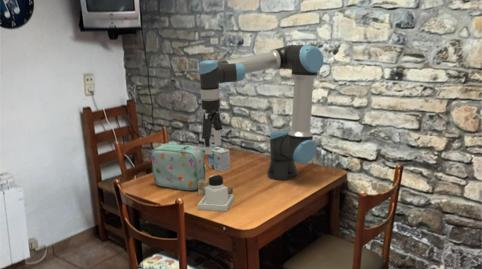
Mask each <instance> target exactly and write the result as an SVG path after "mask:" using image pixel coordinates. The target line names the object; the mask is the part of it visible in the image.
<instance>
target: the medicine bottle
mask: <svg viewBox="0 0 482 269" xmlns="http://www.w3.org/2000/svg"><path fill="white" fill-rule="evenodd" d="M208 180H209V186H207V187H205V195H206V203H208V204H214V205H223V204H226V203H227V202H228V187H227V186H225V185H224V177H223V176H222V175H221V174H213V175H210V176H209V177H208ZM205 195H204V196H205Z"/></svg>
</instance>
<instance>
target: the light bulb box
mask: <svg viewBox="0 0 482 269" xmlns="http://www.w3.org/2000/svg"><path fill="white" fill-rule="evenodd" d="M230 154H231V153H230V149H228V148H227V149H226V148H223V147H220V146H215V147H212V154H207V155H208V168H209V169H211V170H215V171H217V172H220V173H222V172H223V173H224V172H226V171H230V170H231V156H230Z"/></svg>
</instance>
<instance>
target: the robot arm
mask: <svg viewBox="0 0 482 269" xmlns="http://www.w3.org/2000/svg"><path fill="white" fill-rule="evenodd" d="M323 65H324V55H323V52H322V51H321V50H320V48H318V47H317V46H315V45H310V44H290V45H285V46H282V47H278V48H273V49H270V50H269V52H265V53H259V54H252V55H246V56H243V57H236V58H230V59H226V60H221V61H218V60H215V59H214V60H213V59H212V60H211V59H209V60H202V61H200V62H199V66H198V69H199V70H198V74H199V83H200V91H199V94H200V97H201V98H200V99H201V101H200V102H201V103H200V105H201V109H202V110H205V113H203V114H202V116H203V120H202V121H203V122H202V131H201V132H202V134H201V135H202V136H201V139H202V140H204V141H203V143H204V154H205V155H208V154H212V148H213V146H212V138H211V135H212V130H213V136H214V139H213V140H214V146H222V136H221V131H223V126H222V125H223V124H222V121H221V117H220V116H221V115H220V108H221V100H220V98H221V97H220V95H221V94H220V84H225V83H234V82H235V83H237V82H239V81H240V82H241V81H244V79H245V78H246V74H252V73H256V72H261V71H265V70H270V69H272V70H275V71H276V70H291V76H292V77H293V79H294V82H293V97H292V98H293V99H292V114H291V115H292V116H291V129H280V130H279V129H278V130H274V131H272V132H270V134H269V146H270V147H269V152H270V154H269V156H270V157H269V158H270V160H269V161H270V162H269V165H268V168H267V173H266V174H267V177H268V178H269V179H271V180H275V181H288V180H292V179H296V178H297V177H298V173H299V172H298V168H297V165H296V163H297V164H298V163H299V164H308V163H310V162H311V161H312V160H313V159H314V158H315V157H316V154H317V152H318V146H317V144H316V142H315V141H313V136H314V134H313V133H312V132H311V120H312V119H311V118H312V117H311V116H312V108H313V107H312V105H313V104H312V103H313V102H312V101H313V93H314V92H313V88H314V79H315V78H317V76H318V72H319V71H320V70H321V68H323ZM212 128H214V129H212Z"/></svg>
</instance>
